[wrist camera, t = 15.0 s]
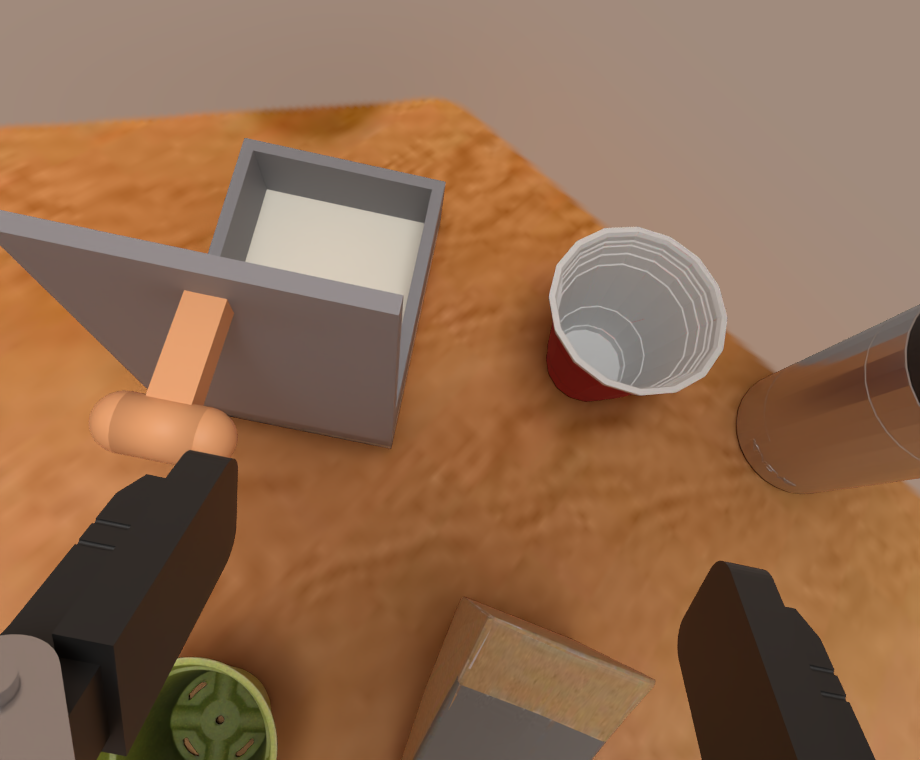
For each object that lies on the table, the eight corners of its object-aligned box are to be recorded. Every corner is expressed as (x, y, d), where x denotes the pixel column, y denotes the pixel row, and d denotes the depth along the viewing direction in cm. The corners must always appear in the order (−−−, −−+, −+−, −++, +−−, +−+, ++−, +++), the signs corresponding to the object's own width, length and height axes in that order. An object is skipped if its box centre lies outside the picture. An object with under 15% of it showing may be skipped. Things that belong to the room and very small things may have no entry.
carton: (261, 184, 51) (244, 137, 45) (440, 223, 52) (445, 181, 46) (193, 409, 46) (165, 388, 41) (391, 448, 47) (390, 434, 41)
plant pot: (232, 605, 43) (193, 618, 35) (330, 714, 42) (314, 754, 34) (113, 718, 41) (41, 760, 33) (213, 837, 40) (166, 911, 32)
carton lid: (-8, 208, 23) (-104, 397, 20) (403, 295, 23) (358, 489, 21) (157, 382, 40) (115, 497, 37) (394, 430, 40) (368, 546, 38)
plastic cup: (676, 334, 51) (757, 271, 40) (621, 458, 48) (692, 429, 37) (550, 270, 52) (595, 189, 40) (489, 390, 49) (518, 339, 37)
